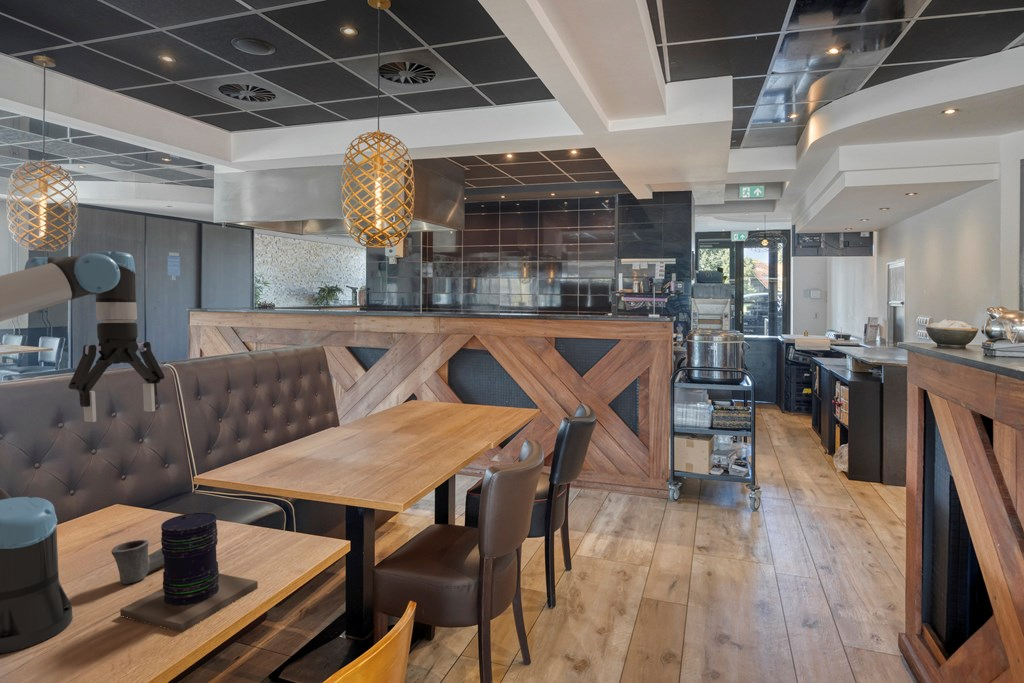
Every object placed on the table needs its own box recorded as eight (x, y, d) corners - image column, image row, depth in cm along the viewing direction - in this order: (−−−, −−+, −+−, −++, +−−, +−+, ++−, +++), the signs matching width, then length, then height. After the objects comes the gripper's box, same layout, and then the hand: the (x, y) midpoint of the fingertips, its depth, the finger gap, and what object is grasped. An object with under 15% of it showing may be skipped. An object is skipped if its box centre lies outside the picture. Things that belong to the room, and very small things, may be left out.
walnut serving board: (182, 632, 106) (181, 624, 106) (120, 616, 112) (120, 609, 112) (257, 588, 123) (257, 581, 123) (200, 576, 128) (200, 569, 128)
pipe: (178, 565, 134) (177, 531, 134) (125, 590, 122) (123, 553, 122) (158, 561, 136) (157, 528, 136) (104, 586, 124) (102, 549, 124)
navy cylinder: (227, 593, 118) (225, 520, 117) (174, 612, 110) (171, 534, 109) (207, 578, 124) (205, 509, 123) (156, 595, 117) (153, 521, 116)
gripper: (156, 320, 144) (160, 406, 145) (44, 323, 120) (50, 425, 122) (178, 320, 141) (182, 408, 142) (69, 322, 118) (74, 427, 119)
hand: (121, 416), depth 132 cm, fingers open, 13 cm apart
